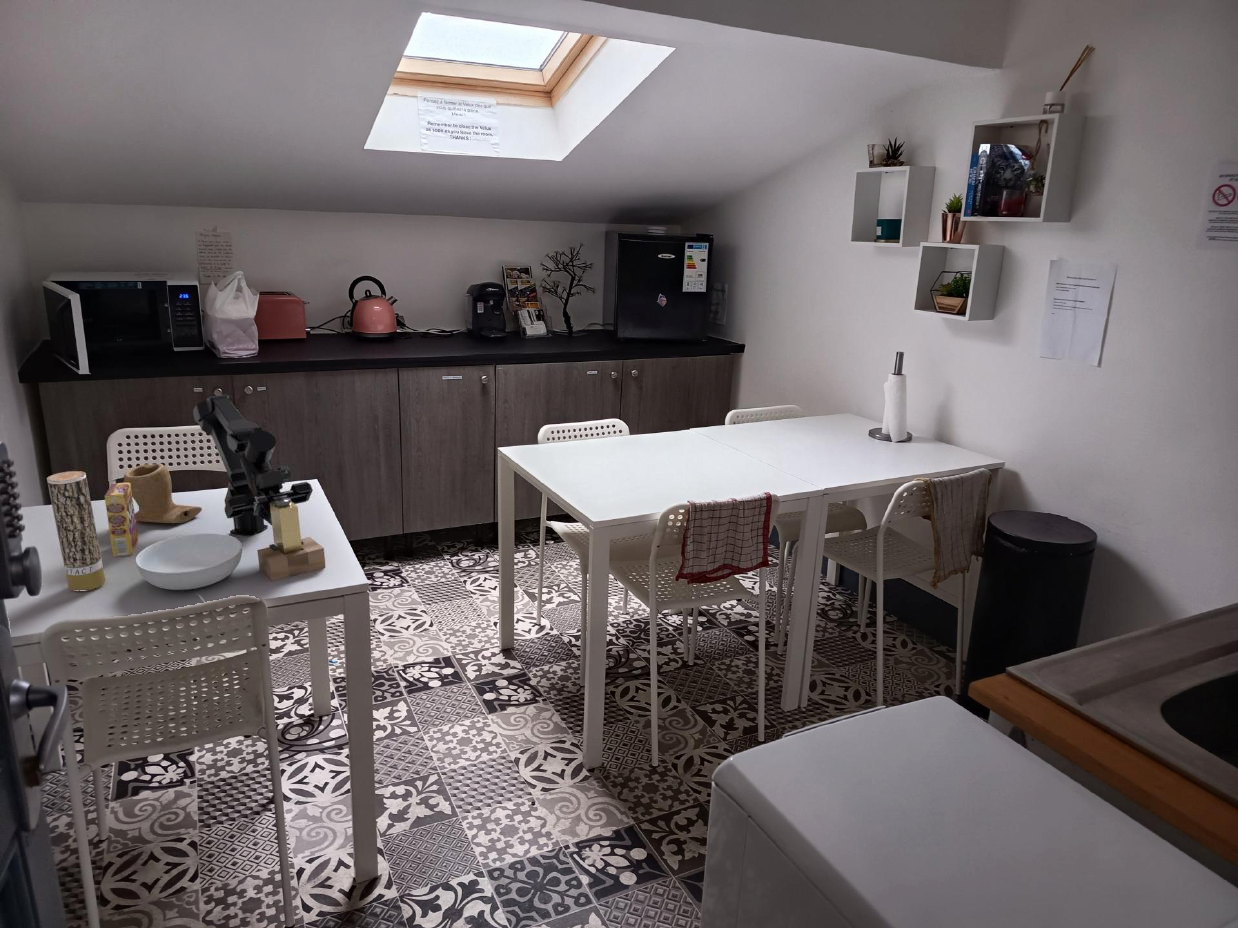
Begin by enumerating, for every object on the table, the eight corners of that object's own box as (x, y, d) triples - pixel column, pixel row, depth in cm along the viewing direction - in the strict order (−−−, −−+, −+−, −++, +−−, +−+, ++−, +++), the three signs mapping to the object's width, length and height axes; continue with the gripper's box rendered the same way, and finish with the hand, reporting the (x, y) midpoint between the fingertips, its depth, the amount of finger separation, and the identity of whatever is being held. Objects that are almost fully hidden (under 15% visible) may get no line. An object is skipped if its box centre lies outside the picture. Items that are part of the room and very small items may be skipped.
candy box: (134, 555, 196) (123, 494, 191) (113, 557, 195) (101, 495, 190) (140, 540, 204) (130, 481, 199) (120, 543, 202) (109, 483, 198)
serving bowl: (135, 608, 172) (130, 578, 170) (145, 568, 190) (140, 540, 188) (246, 592, 180) (242, 562, 178) (245, 554, 198) (241, 527, 196)
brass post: (276, 563, 193) (269, 498, 188) (293, 559, 195) (287, 494, 190) (286, 572, 188) (278, 505, 183) (303, 567, 191) (297, 502, 186)
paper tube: (79, 579, 184) (58, 471, 176) (111, 578, 184) (92, 471, 176) (62, 593, 177) (39, 481, 169) (96, 592, 178) (74, 481, 170)
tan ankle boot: (120, 526, 212) (110, 470, 208) (153, 510, 223) (145, 456, 219) (172, 532, 209) (164, 475, 205) (204, 515, 220) (196, 461, 216)
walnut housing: (259, 570, 190) (256, 547, 188) (311, 556, 197) (309, 535, 196) (272, 582, 184) (269, 559, 182) (325, 568, 192) (323, 545, 190)
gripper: (221, 463, 185) (244, 524, 180) (305, 448, 196) (329, 505, 192) (215, 488, 193) (237, 547, 188) (296, 472, 204) (318, 527, 200)
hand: (281, 531), depth 192 cm, fingers closed, pressing on brass post
